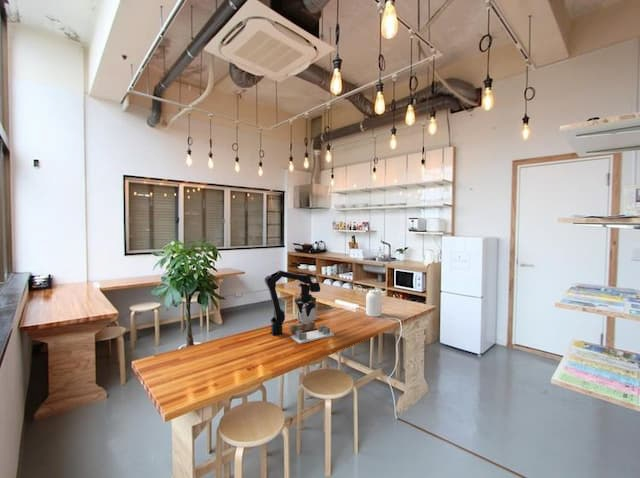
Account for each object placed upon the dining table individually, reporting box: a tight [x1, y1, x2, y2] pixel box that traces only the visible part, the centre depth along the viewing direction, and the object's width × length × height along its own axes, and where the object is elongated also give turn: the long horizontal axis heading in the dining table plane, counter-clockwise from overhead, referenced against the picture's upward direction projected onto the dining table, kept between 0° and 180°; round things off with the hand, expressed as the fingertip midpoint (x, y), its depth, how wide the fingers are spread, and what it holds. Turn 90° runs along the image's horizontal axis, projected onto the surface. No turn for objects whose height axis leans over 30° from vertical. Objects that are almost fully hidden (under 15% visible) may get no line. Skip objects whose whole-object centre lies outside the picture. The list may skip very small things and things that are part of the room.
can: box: [365, 289, 383, 318], centre depth 246 cm, size 12×12×20 cm
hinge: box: [296, 307, 319, 323], centre depth 232 cm, size 17×5×10 cm, turn 133°
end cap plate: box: [290, 324, 335, 345], centre depth 198 cm, size 26×12×4 cm, turn 123°
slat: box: [289, 320, 316, 335], centre depth 209 cm, size 18×3×5 cm, turn 122°
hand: (304, 314), depth 210 cm, fingers open, 9 cm apart
